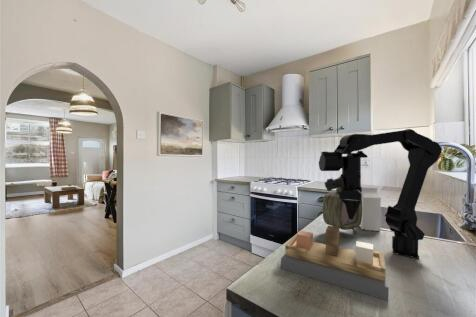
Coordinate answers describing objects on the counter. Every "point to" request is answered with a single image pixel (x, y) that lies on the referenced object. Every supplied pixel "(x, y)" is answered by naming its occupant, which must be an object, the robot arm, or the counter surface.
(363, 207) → the milk carton
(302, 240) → the block
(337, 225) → the tabletop clock
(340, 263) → the tray
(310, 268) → the grey flat slab
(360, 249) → the block
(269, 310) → the counter surface
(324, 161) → the robot arm
